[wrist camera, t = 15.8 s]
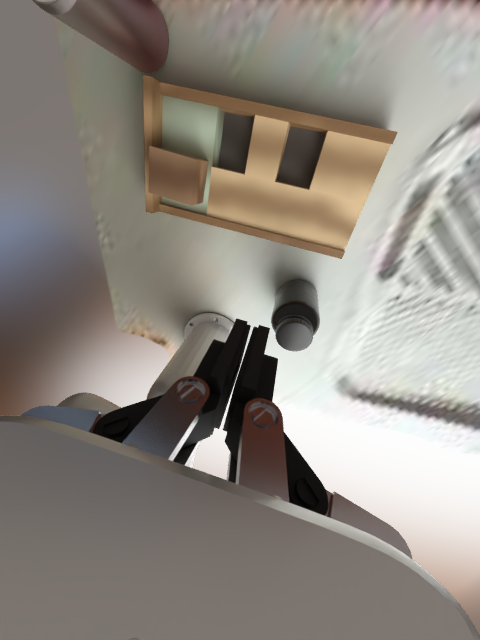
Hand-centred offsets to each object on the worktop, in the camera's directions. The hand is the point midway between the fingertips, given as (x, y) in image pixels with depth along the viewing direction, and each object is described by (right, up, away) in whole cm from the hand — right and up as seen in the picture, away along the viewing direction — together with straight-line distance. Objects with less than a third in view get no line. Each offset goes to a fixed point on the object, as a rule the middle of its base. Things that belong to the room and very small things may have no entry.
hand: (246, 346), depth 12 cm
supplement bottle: (+9, +5, +29) cm, 31 cm away
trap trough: (+3, +21, +21) cm, 30 cm away
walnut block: (-8, +21, +21) cm, 30 cm away
